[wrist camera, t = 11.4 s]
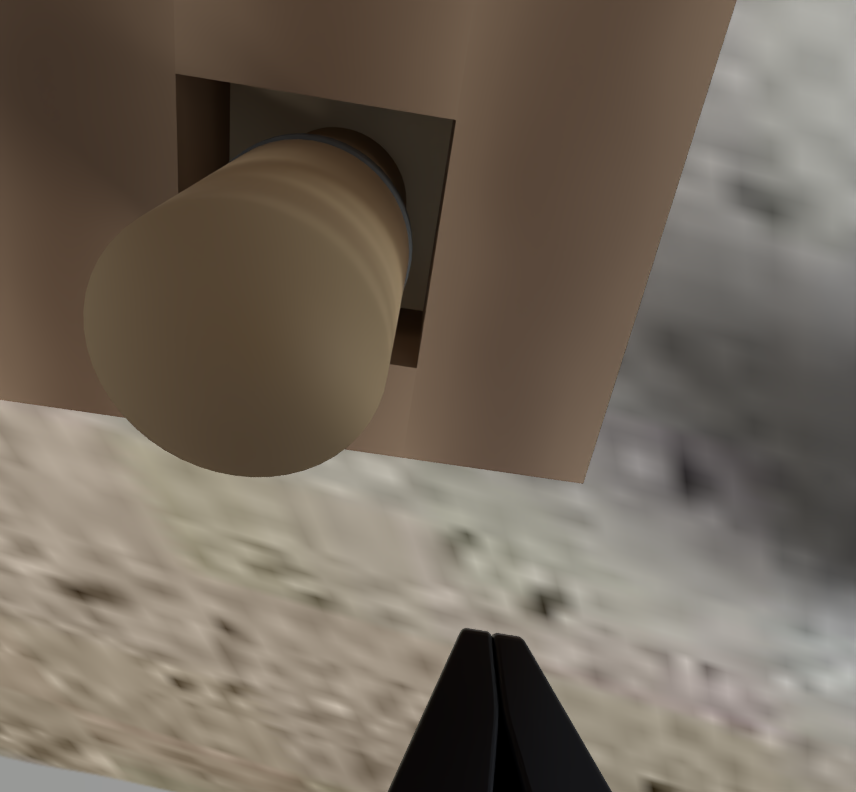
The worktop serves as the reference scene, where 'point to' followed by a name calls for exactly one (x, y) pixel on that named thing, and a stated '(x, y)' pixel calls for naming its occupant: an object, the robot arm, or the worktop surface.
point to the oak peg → (258, 305)
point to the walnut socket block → (417, 162)
